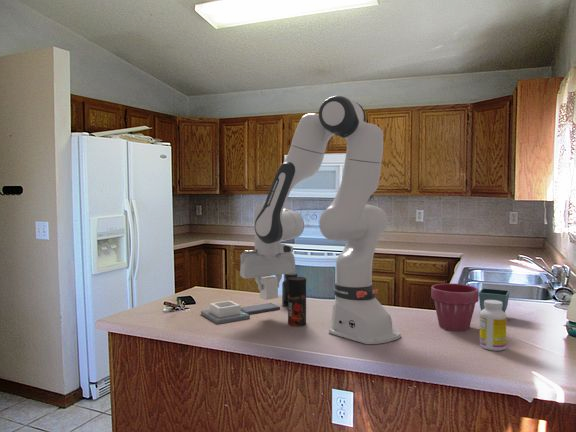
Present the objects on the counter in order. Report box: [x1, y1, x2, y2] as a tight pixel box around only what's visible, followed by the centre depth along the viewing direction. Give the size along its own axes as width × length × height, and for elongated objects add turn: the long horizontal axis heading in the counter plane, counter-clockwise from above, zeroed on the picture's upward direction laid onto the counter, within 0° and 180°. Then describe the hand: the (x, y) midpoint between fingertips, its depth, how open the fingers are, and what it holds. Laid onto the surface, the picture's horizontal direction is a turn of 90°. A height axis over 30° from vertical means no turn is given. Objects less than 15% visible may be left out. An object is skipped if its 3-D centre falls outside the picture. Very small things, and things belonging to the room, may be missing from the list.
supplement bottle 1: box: [281, 272, 299, 307], centre depth 173 cm, size 7×7×12 cm
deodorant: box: [287, 276, 307, 327], centre depth 148 cm, size 6×6×15 cm
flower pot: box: [478, 287, 510, 313], centre depth 156 cm, size 9×9×9 cm
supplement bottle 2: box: [479, 300, 507, 352], centre depth 126 cm, size 7×7×13 cm
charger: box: [259, 275, 279, 301], centre depth 157 cm, size 5×4×7 cm
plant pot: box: [430, 283, 479, 332], centre depth 145 cm, size 14×14×13 cm
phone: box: [240, 302, 281, 315], centre depth 166 cm, size 14×7×1 cm, turn 123°
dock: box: [200, 300, 251, 325], centre depth 158 cm, size 14×12×4 cm
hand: (268, 288), depth 157 cm, fingers closed on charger, 4 cm apart
